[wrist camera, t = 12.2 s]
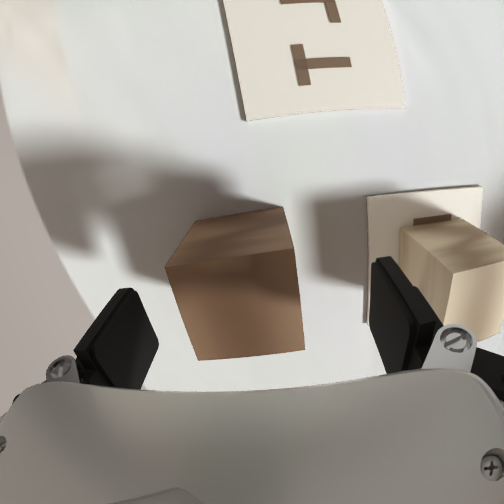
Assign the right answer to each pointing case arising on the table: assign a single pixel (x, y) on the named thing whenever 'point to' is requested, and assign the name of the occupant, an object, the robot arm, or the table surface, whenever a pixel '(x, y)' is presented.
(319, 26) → the tile
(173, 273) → the block walnut
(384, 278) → the robot arm
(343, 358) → the table surface
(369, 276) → the tile
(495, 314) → the block maple
